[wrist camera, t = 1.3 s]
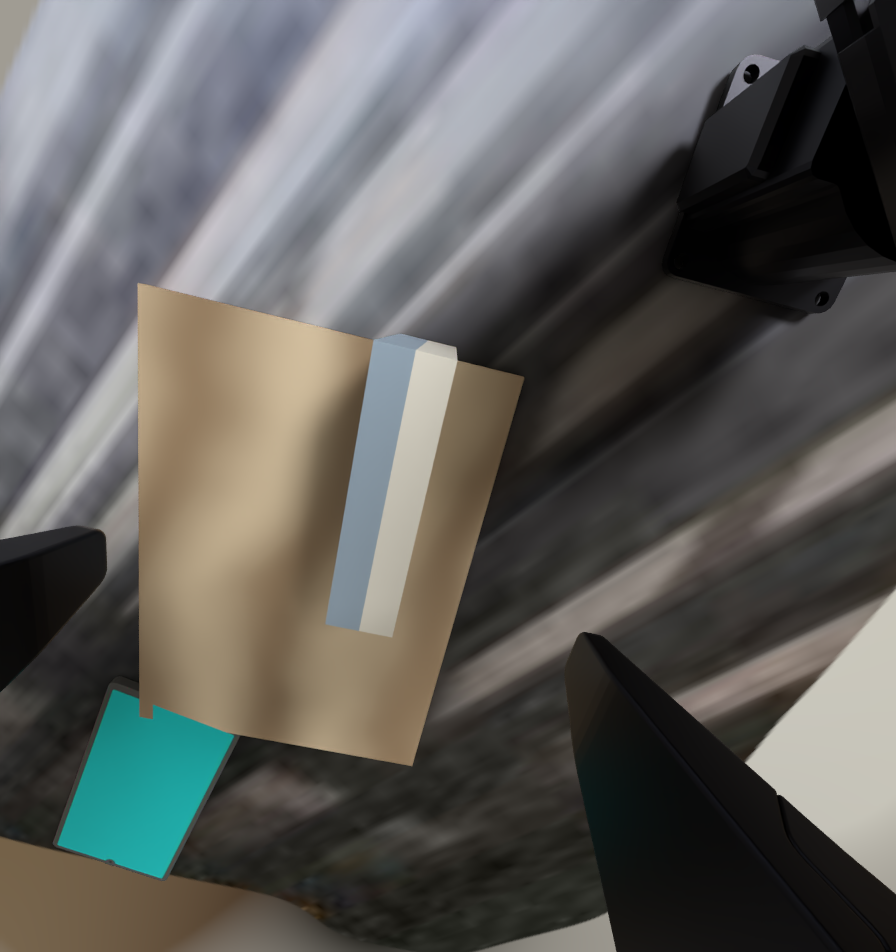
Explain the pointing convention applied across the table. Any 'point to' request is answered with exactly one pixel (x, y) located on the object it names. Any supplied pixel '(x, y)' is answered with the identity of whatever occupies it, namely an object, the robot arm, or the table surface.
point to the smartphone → (141, 784)
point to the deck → (389, 479)
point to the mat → (288, 529)
